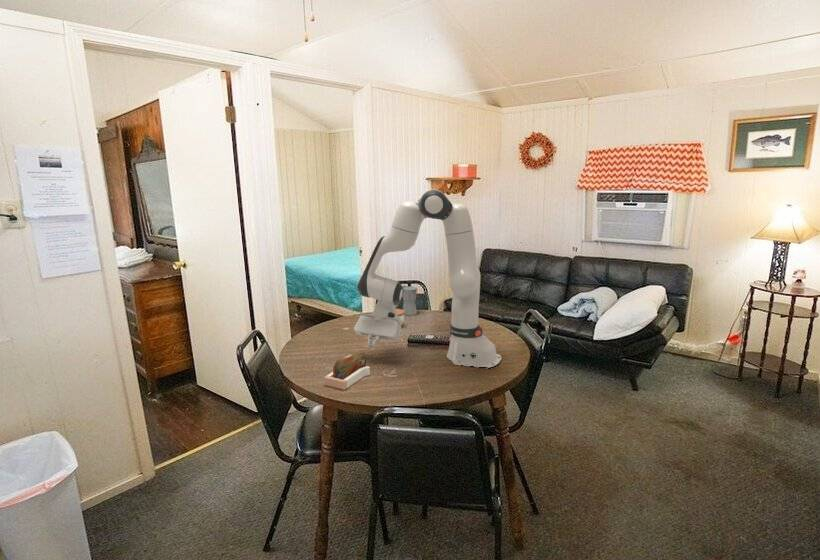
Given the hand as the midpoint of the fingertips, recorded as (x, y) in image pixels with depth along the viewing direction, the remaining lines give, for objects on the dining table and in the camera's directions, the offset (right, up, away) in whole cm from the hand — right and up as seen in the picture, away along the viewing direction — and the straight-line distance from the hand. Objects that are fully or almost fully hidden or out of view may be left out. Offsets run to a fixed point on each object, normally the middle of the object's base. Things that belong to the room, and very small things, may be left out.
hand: (370, 346), depth 177 cm
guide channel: (-8, -11, -13) cm, 19 cm away
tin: (-7, -10, -10) cm, 16 cm away
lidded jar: (+8, +3, +47) cm, 48 cm away
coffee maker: (+15, +8, +69) cm, 71 cm away
